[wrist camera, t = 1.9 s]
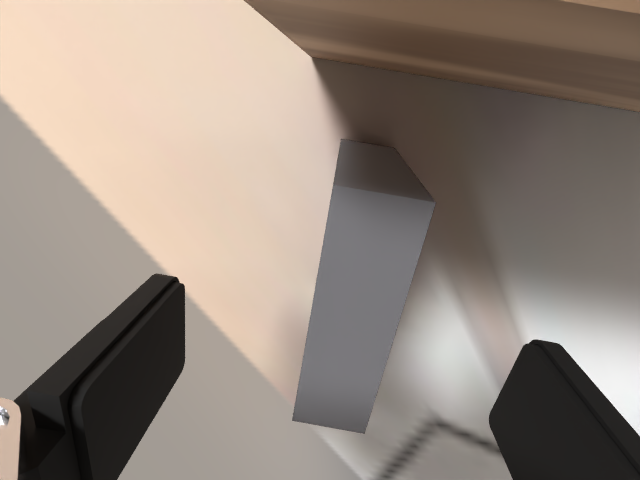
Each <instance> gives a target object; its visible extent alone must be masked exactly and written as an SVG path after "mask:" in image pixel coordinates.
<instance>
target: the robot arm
mask: <svg viewBox="0 0 640 480" xmlns="http://www.w3.org/2000/svg"><path fill="white" fill-rule="evenodd" d="M184 363H185V286H184V284H182V283H179V280H178V278H177V277H173V276H167V275H162V274H154V275H152V276H151V277H150V278H149V279H148V280H147V281H146V282H145V283H144V284H142V285H141V286H140V287H139V288H138V289H137V290H136V291H135V292H134V293H133V294H132V295H130V296H129V297H128V298H127V299H126V300H125V301H124V302H123V303H122V304H121V305H120V306H118V307H117V308H116V309H115V310H114V311H113V312H112V313H111V314H110V315H109V316H107V317H106V318H105V319H104V320H102V321H101V322H100V323H99V324H98V325H96V326H95V327H94V328H93V329H92V330H91V331H90V332H89V333H88V334H86V335H85V336H84V337H83V338H82V339H81V340H80V341H79V342H78V343H77V344H76V345H74V346H73V347H72V348H71V349H70V350H69V351H68V352H67V353H66V354H65V355H63V356H62V357H61V358H60V359H59V360H58V361H57V362H56V363H55V364H54V365H52V366H51V367H50V368H49V369H48V370H47V371H46V372H45V373H44V374H43V375H42V376H40V377H39V378H38V379H37V380H36V381H35V382H34V383H33V384H32V385H31V386H29V387H28V388H27V389H26V390H25V391H24V392H23V393H22V394H21V395H20V396H19V397H17V398H16V399H15V400H14V401H12V400H8V399H4V398H0V480H117V479H118V477H119V475H120V474H121V472H122V470H123V469H124V467H125V465H126V464H127V462H128V460H129V459H130V457H131V455H132V454H133V452H134V451H135V449H136V447H137V446H138V444H139V442H140V441H141V439H142V437H143V436H144V434H145V432H146V431H147V429H148V427H149V425H150V424H151V422H152V421H153V419H154V417H155V416H156V414H157V412H158V411H159V409H160V407H161V406H162V404H163V402H164V401H165V399H166V397H167V395H168V394H169V392H170V391H171V389H172V387H173V386H174V384H175V382H176V381H177V379H178V377H179V375H180V374H181V372H182V370H183V367H184ZM489 424H490V428H491V430H492V432H493V435H494V437H495V439H496V442H497V444H498V446H499V449H500V451H501V453H502V455H503V458H504V460H505V462H506V465H507V467H508V469H509V472H510V474H511V476H512V478H513V480H640V436H639V435H638V434H637V433H636V431H635V430H634V429H633V428H632V427H631V426H630V424H629V423H628V422H627V421H626V420H625V419H624V418H623V416H622V415H621V414H620V413H619V412H618V411H617V409H616V408H615V407H614V406H613V405H612V404H611V402H610V401H609V400H608V399H607V398H606V397H605V396H604V394H603V393H602V392H601V391H600V390H599V389H598V387H597V386H596V385H595V384H594V383H593V382H592V380H591V379H590V378H589V377H588V376H587V375H586V374H585V372H584V371H583V370H582V369H581V368H580V367H579V365H578V364H577V363H576V362H575V361H574V360H573V358H572V357H571V356H570V355H569V354H568V353H567V352H566V350H565V349H564V348H563V347H562V346H561V345H560V344H558V343H553V342H548V341H542V340H532V341H531V342H530V343H529V344H525V345H524V346H523V348H522V349H521V351H520V354H519V356H518V358H517V360H516V362H515V364H514V366H513V368H512V370H511V372H510V374H509V376H508V378H507V380H506V382H505V384H504V386H503V388H502V390H501V392H500V394H499V396H498V398H497V400H496V402H495V404H494V406H493V408H492V410H491V412H490V415H489Z"/></svg>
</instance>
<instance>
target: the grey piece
mask: <svg viewBox="0 0 640 480" xmlns="http://www.w3.org/2000/svg"><path fill="white" fill-rule="evenodd" d="M435 204H436V202H435V201H434V199H433V198H432V197H431V195H430V194H429V193H428V191H427V190H426V189H425V187H424V186H423V185H422V183H421V182H420V181H419V180H418V178H417V177H416V176H415V174H414V173H413V172H412V170H411V169H410V168H409V166H408V165H407V164H406V163H405V161H404V160H403V159H402V157H401V156H400V155H399V153H398V152H397V151H396V149H395V148H391V147H386V146H380V145H374V144H368V143H362V142H356V141H350V140H345V139H341V143H340V149H339V154H338V160H337V166H336V172H335V177H334V183H333V189H332V195H331V200H330V206H329V212H328V218H327V223H326V229H325V235H324V241H323V246H322V252H321V258H320V264H319V269H318V275H317V281H316V287H315V292H314V298H313V304H312V310H311V315H310V321H309V327H308V333H307V338H306V344H305V350H304V356H303V361H302V367H301V373H300V379H299V384H298V390H297V396H296V402H295V407H294V413H293V419H292V420H293V421H297V422H303V423H308V424H314V425H319V426H325V427H330V428H336V429H342V430H347V431H353V432H358V433H364V434H365V430H366V427H367V424H368V421H369V417H370V414H371V411H372V408H373V404H374V401H375V398H376V395H377V392H378V388H379V385H380V382H381V379H382V375H383V372H384V369H385V366H386V363H387V359H388V356H389V353H390V350H391V346H392V343H393V340H394V337H395V333H396V330H397V327H398V324H399V321H400V317H401V314H402V311H403V308H404V304H405V301H406V298H407V295H408V292H409V288H410V285H411V282H412V279H413V275H414V272H415V269H416V266H417V262H418V259H419V256H420V253H421V250H422V246H423V243H424V240H425V237H426V233H427V230H428V227H429V224H430V221H431V217H432V214H433V211H434V208H435Z"/></svg>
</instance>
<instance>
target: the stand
mask: <svg viewBox="0 0 640 480" xmlns="http://www.w3.org/2000/svg"><path fill="white" fill-rule="evenodd" d="M244 1H245V2H247V3H248V4H249V5H250V6H251V7H252V8H254V9H255V10H256V11H257V12H258V13H260V14H261V15H262V16H263V17H264V18H266V19H267V20H268V21H269V22H270V23H271V24H273V25H274V26H275V27H276V28H277V29H279V30H280V31H281V32H282V33H283V34H284V35H286V36H287V37H288V38H289V39H290V40H292V41H293V42H294V43H295V44H296V45H298V46H299V47H300V48H301V49H302V50H303V51H305V52H306V53H307V54H308V55H309V56H311V57H315V58H321V59H327V60H333V61H339V62H345V63H351V64H357V65H363V66H369V67H375V68H381V69H387V70H393V71H399V72H405V73H411V74H416V75H422V76H428V77H434V78H440V79H446V80H452V81H458V82H464V83H470V84H476V85H482V86H488V87H494V88H500V89H506V90H512V91H517V92H523V93H529V94H535V95H541V96H547V97H553V98H559V99H565V100H571V101H577V102H583V103H589V104H595V105H601V106H607V107H613V108H619V109H624V110H630V111H636V112H640V0H244Z"/></svg>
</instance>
